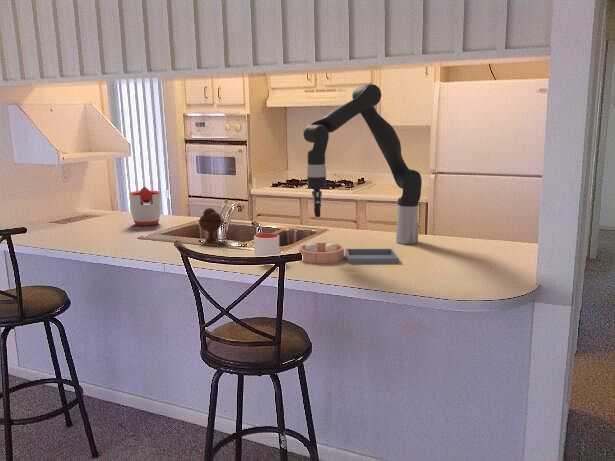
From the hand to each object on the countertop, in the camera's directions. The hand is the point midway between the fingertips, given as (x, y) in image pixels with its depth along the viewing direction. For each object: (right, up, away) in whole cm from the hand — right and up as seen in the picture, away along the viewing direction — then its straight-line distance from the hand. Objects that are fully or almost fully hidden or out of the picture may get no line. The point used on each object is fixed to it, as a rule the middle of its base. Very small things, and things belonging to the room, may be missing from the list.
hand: (317, 214), depth 229 cm
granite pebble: (-2, -17, 0) cm, 17 cm away
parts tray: (+22, -18, -2) cm, 28 cm away
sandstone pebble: (+6, -17, 0) cm, 18 cm away
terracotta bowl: (+2, -18, 0) cm, 18 cm away
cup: (-20, -18, -2) cm, 28 cm away
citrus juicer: (-89, -3, +68) cm, 112 cm away
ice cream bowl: (-49, -11, +32) cm, 59 cm away
